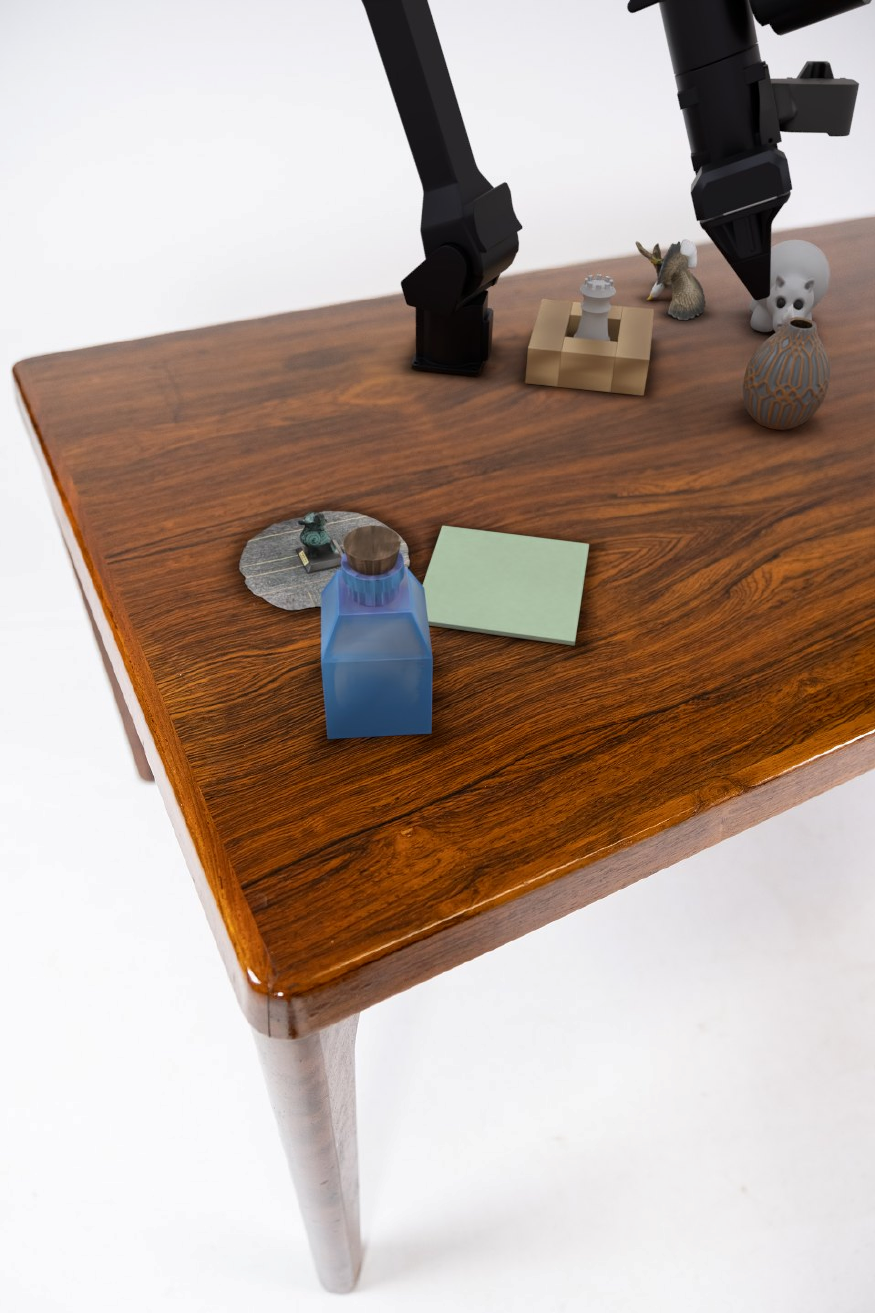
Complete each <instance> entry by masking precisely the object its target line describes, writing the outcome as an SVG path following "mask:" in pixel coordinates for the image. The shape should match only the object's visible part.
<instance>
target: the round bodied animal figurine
mask: <svg viewBox="0 0 875 1313" xmlns="http://www.w3.org/2000/svg"><path fill="white" fill-rule="evenodd" d="M830 280H831V270H830V264H829V261H828V258H827V257H826V256H825V254H824V252H823V251H822V250H821V249H820V247H818V246H816V245H815V244H813V243H812V242H810V241H806V240H803V239H789V240H784V241H781V242H779V243H776V244H775V245H773V246H771V284H770V296H769V297H768V298H765V299H761V300H758V301H756V300H754V299H753V297H752V298H751V301H750V304H749V311H750V313H752V314H751V317H750V323H749V324H750V327H751V328H752V329H753V330H755V331H758V332H759V333H760V332H761V333H770V332H772V331H774V332H775V333H776V332H777V331H779V330H780V329H781V327H782V326H783V325H784V324H785V322H786V321H787V320H788V319H790V318H794V317H802V318H807V319H810V320H812V321H813V318H812V314H813V309H815V308H816V306H817V305H819V303H821V301H822V300H823V298H824V297H825V295H826V293H827V292H828V288H829V285H830Z"/></svg>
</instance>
